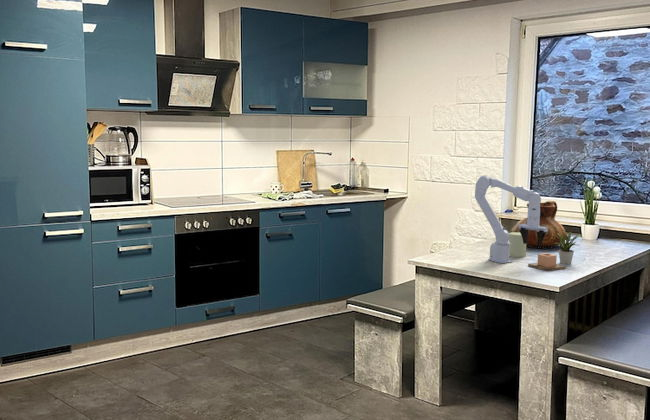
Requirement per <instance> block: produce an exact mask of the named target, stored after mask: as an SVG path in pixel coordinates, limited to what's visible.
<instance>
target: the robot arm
mask: <svg viewBox="0 0 650 420" xmlns="http://www.w3.org/2000/svg"><path fill="white" fill-rule="evenodd" d="M474 188H475V189H474V198H475V200H476V202H477V204H478V206H479V207H480V209H481V211H482V213H483V215H484V216H485V218H486V219H487V220H486V221H487V222H488V223H489V224H490V227H491V228H492V231H493V234H494V235H495V241H494V242H492V243H491V245H490V246H489V258H488V259H487V260H488V261H491V262H495V263H499V264H506V263H513V262H514V260H510V256H509V251H510V243H509V233H510V232H509V231H508V230H507V229H506V228H504V225H503V224H502V223H501V222H500V220H499V218H498V217H497V215H496V213H495V211H494V210H493V206H491V204H490V203H489V200H488V199H487V197H486V195H487V192H488V189H489V188H490V189H491V188H493V189H494V188H499V189H502V190H504V191H507V192H508V193H509V192H510V193H512V196H513V197H514V198H517V199H519V200H522V201H524V202H527V203H529V207H527V217H526V218H527V225H524V224H519V228H520V230H519V231H520V233H521V235H522V239H523V244H526V243H527V236H528V231H529V230H536V231H539V232H537V236H538V243H537V244H538V246H541V244H542V241H543V238H544V236H545V235H546V233H547V232H548V228H546V227H541V226H539V221H540V202H542V198H541V195H540V193H538V192H537V191H534V190H533V189H528V188H525V186H524V185H517V186H514V185H512V184H509V183H507V182H505V181H502V180H501V179H499V178H495V177H492V176H488V175H486V174H484V175H481V176H479V178H478V179H477V181H476V183H475V187H474ZM530 228H531V229H530Z"/></svg>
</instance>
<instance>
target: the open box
mask: <svg viewBox="0 0 650 420" xmlns="http://www.w3.org/2000/svg"><path fill="white" fill-rule="evenodd" d="M557 257H558V256H557V255H556V254H551V253H549V252H548V253H547V252H544V253H538V254H537V262H536V263H537V264H538V265H542V266H546V267H550V266H556V264H557Z"/></svg>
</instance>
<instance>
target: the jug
mask: <svg viewBox="0 0 650 420" xmlns="http://www.w3.org/2000/svg"><path fill="white" fill-rule="evenodd" d="M526 206H527V208H528V207H529V202H527V203H526ZM557 211H558V204H557V202H556V201H553V200H547V201H544V202H542V201H541V202H540V221H539V226H541V227H546V228H548V232H547V233H546V235H545V236H544V238H543V241H542V244H541V246H538V244H537V243H538V236H537V232H539V231H536V230H529V231H528V236H527V243H526V248H533V249H543V248H547V249H554V248H556V247H557V246H559V245H558V244H556V243H560V242H561V241H560V240H559V239H560V237H559V235H558V234H560V235H561V237H562V238H563V236H564V239H565V241H566V235H565V231H566V229H565V227H564V226H563V225H562V224H561V223H560V222H559V221H557V220H556V214H557ZM519 224H524V225H527V217H526V218H523V219H521V220H519V221H517V222H516V223H515V225H513V227H512V228H511V231H510V233H511V232H520V231H519V230H520V228H519ZM530 229H531V228H530ZM556 232H557V233H558V234H557V233H556ZM566 234H567V232H566ZM567 235H568V234H567ZM557 236H558V237H559V238H558V237H557ZM563 241H564V240H563Z"/></svg>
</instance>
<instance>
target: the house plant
mask: <svg viewBox="0 0 650 420" xmlns="http://www.w3.org/2000/svg"><path fill="white" fill-rule="evenodd" d="M556 233H557V232H556ZM566 233H567V231H566V230H565V235H566V240H565V239H564V236H563V238H562V237H561V235H560V234H558V233H557V234H558V235H559V237H560V239H559V240H560V241H561V242H560V243H556V244H558V246H559V247H560V249H558V255H559V256H558V258H559V263H560V264H562V265H572V261H573V256H574V253H575V250H572V248H573V247H574V246H576V243H577V241H575V240H577V239H578V238H579V237H580V236H582V234H577V235H575V236H574V237H573V238H571V236H572V235H571V234H572V231H571V230H570V231H569V232H568V233H569V234H566ZM557 237H558V236H557ZM559 237H558V238H559ZM563 240H564V241H563ZM577 246H578V247H579V248H580V244H577Z"/></svg>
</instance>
